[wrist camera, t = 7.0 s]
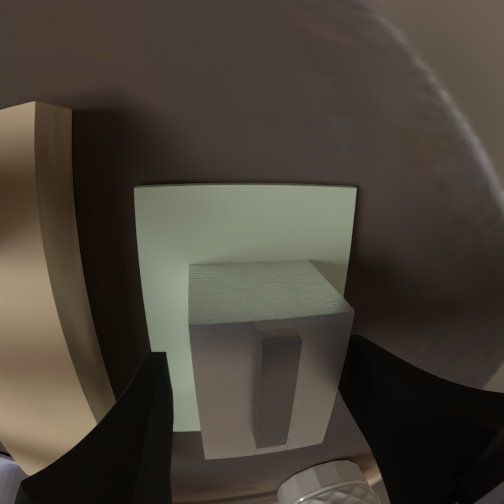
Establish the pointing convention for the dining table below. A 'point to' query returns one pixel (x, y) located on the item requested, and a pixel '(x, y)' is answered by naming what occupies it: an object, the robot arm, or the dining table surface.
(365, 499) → the white cup
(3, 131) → the panel with round knob
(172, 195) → the board
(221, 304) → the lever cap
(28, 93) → the dining table surface
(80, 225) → the dining table surface
